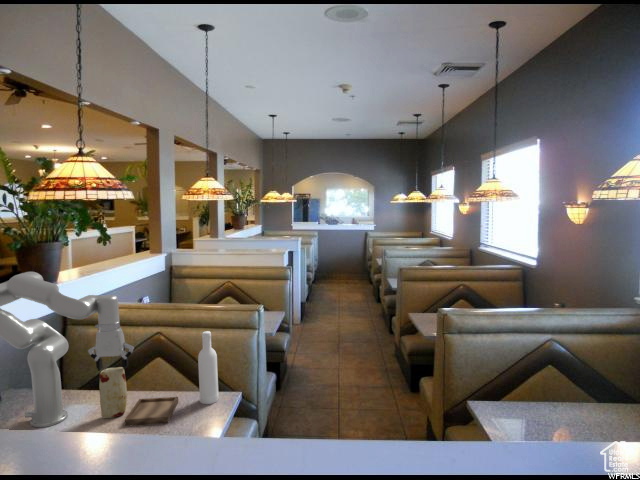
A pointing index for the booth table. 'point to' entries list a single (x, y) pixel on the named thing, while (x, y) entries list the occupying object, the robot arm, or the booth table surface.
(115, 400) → the food model
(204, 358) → the bottle
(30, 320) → the robot arm
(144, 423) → the serving board
